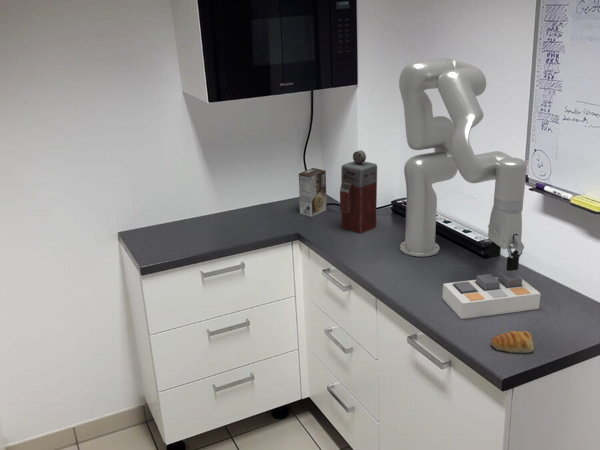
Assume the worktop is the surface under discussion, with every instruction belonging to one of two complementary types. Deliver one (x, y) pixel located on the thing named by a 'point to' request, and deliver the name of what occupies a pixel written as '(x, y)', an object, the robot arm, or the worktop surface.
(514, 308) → the switch box
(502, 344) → the pastry
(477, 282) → the button
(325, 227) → the worktop surface
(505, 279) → the button
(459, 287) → the button
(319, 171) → the coffee box
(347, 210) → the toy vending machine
